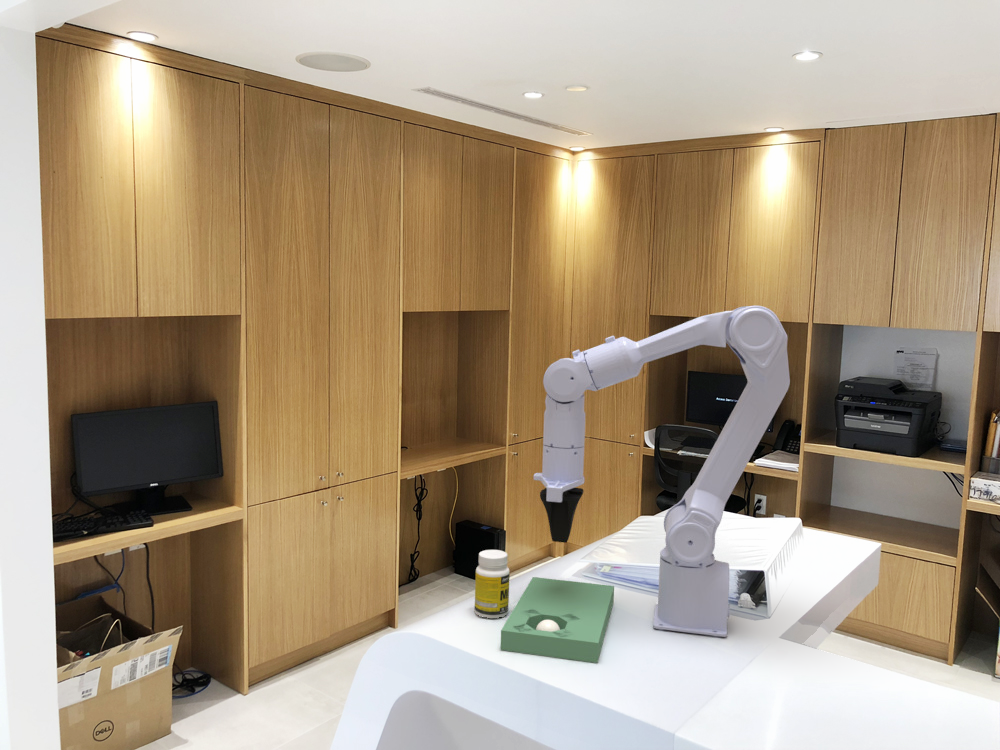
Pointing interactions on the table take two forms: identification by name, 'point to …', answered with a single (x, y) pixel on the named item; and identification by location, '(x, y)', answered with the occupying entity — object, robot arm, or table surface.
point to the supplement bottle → (492, 584)
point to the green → (560, 619)
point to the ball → (547, 626)
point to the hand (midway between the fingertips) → (560, 540)
